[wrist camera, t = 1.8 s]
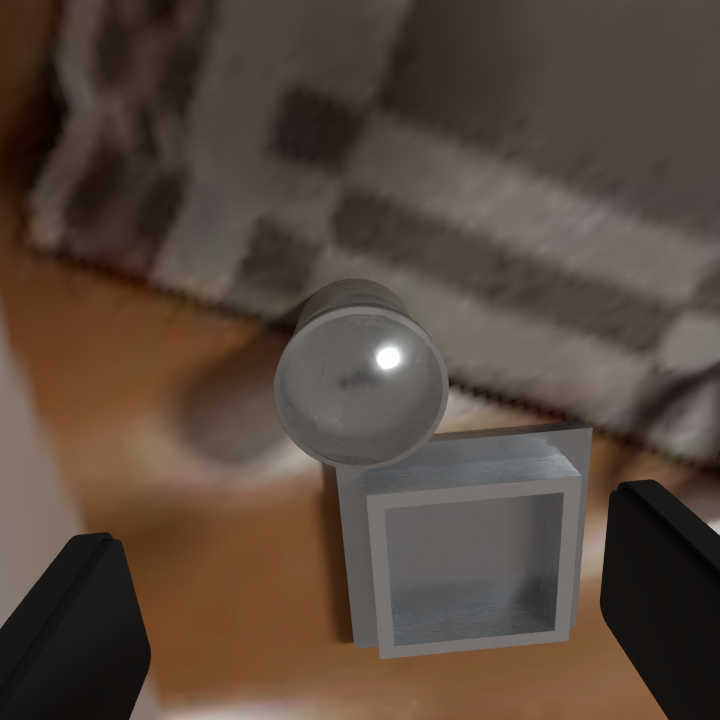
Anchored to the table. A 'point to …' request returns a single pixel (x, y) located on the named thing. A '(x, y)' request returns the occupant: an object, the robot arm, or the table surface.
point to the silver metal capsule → (359, 378)
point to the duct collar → (468, 541)
